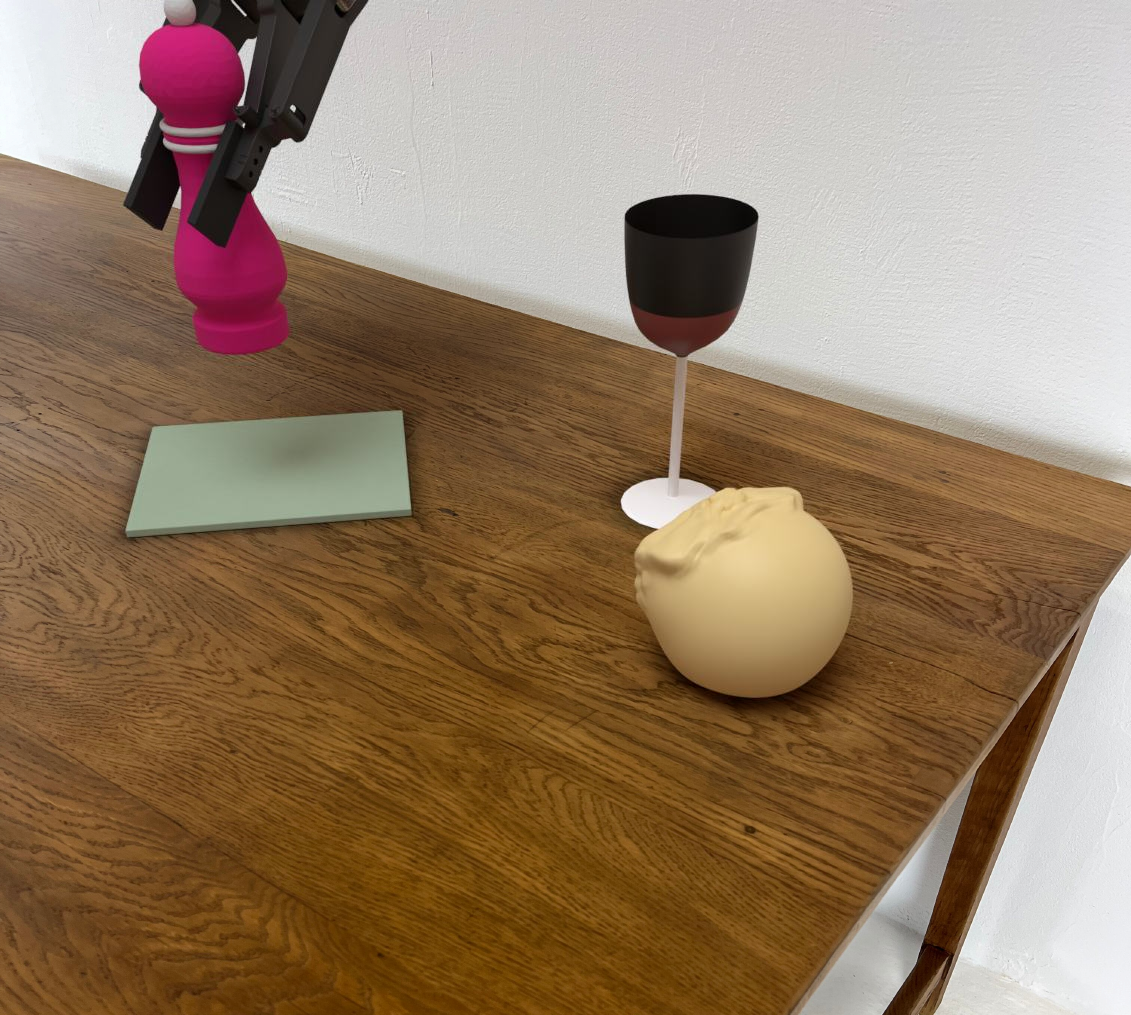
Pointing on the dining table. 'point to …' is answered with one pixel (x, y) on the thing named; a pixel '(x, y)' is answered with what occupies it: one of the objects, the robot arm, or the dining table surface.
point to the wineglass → (683, 308)
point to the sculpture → (745, 591)
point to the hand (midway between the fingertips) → (174, 225)
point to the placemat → (272, 473)
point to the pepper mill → (192, 131)
